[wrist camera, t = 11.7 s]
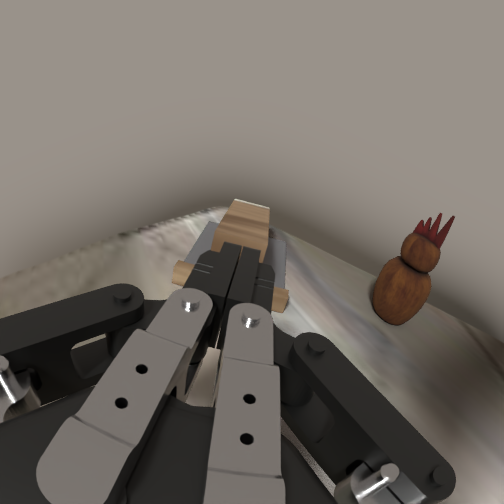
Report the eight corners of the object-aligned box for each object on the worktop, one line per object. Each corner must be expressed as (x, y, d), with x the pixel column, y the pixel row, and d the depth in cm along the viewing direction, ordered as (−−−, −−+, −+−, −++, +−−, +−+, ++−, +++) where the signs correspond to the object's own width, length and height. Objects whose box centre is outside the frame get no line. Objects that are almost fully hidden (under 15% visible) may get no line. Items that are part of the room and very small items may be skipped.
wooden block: (267, 244, 29) (269, 207, 44) (214, 230, 29) (235, 198, 44) (253, 291, 31) (260, 240, 46) (204, 278, 31) (226, 231, 46)
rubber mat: (283, 302, 34) (283, 300, 34) (177, 273, 34) (177, 271, 34) (285, 243, 48) (286, 242, 47) (208, 222, 47) (209, 221, 47)
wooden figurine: (416, 330, 35) (473, 225, 28) (385, 334, 33) (447, 218, 26) (388, 298, 41) (434, 200, 34) (358, 299, 39) (406, 191, 32)
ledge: (282, 313, 33) (288, 298, 32) (172, 282, 32) (173, 267, 31) (282, 304, 34) (288, 290, 33) (176, 275, 34) (178, 260, 33)
